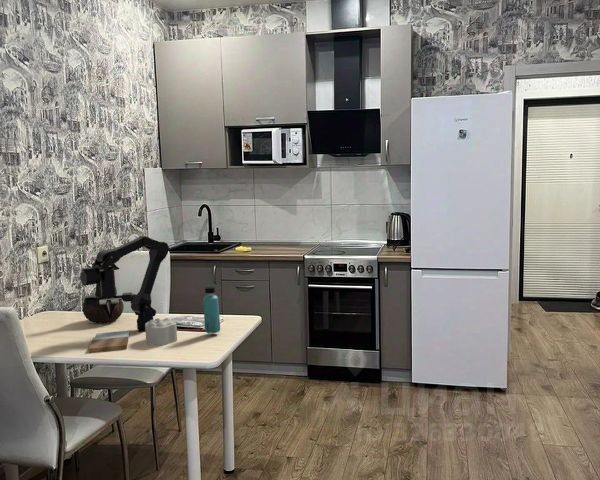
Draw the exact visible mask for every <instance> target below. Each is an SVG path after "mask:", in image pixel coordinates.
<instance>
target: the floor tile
mask: <svg viewBox="0 0 600 480" xmlns="http://www.w3.org/2000/svg"><path fill="white" fill-rule="evenodd" d="M129 336H130V330H120V331H109V332H108V331H107V332H100V333H99V332H97V333H96V334H95V336H94V338H93V340H100V339H110V338H121V337H128V338H129Z"/></svg>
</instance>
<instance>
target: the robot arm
mask: <svg viewBox="0 0 600 480" xmlns="http://www.w3.org/2000/svg"><path fill="white" fill-rule="evenodd" d="M168 244H169V243H167V242H165V241H158V240H155V239H154V238H151V237H149V236H145V235H140V236H138V237H137V238H135V239H132V240H130V241H128V242H126V243H124V244H121V245H120V246H117V247H115V248H109V249H105V250H101V251H99V252H98V253H97V254H96V259H95V261H93V264H92V266H91V267H88V268H87V267H86V268H85V267H84V268H82V269H81V273H80V277H79V280H80V284H81V285H82V286H83V287H84V286H86V287H87V286H91V285H96V284H98V283H99V282H100V283H101V286H99V293H100V294H101V296H102V297H96V295H95V294H91V295H86V296H85V297H84V299H83V303H84V305H91V304H93V303H94V302H100V304H99V305H100V306H102V307H103V308H104V310H105V311H106V313H107V315H108V317H109V319H112V315H113V311H114V308H115V305H117V304H118V303H119V300H122V302H123V303H124V302H125V303H127V302H128V303H130V308H131V310H132V311H133V313H134V314H135V316H137V319H136V329H137V330H138V332H139V333H140V332H146V330H145V324H146V323H147V322H149V321H150V320H154V317H155V316H156V314H157V310H156V309H155V308H153V307H152V302H153V301H152V295H151V294H152V291H153V288H154V285H155V281H156V279H157V276H158V272H159V270H160V267H161V263H162V262H163V261H164V260H165V259H166V257H167V255H168V253H169V250H170V245H168ZM142 248H145V249H147V250H148V257H149V261H148V265H147V268H146V271H145V274H144V276H143V280H142V282H141V286H140V289H139V291H138V292H137V293H136V294H135V293H134V294H133V292H132V291H131V292H123V293H122V294H119V295H118V293H117V292H118V291H117V287H116V276H115V271H118V270H120V268H119V267H118V265H116V263H117V262H119V261H120V259H121V258H123V257H124V256H126V255H129V254H131V253H134V252H135V251H137V250H139V249H142ZM107 298H108V299H107ZM108 301H112V302H111V306H110V310H109V304H108Z"/></svg>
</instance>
